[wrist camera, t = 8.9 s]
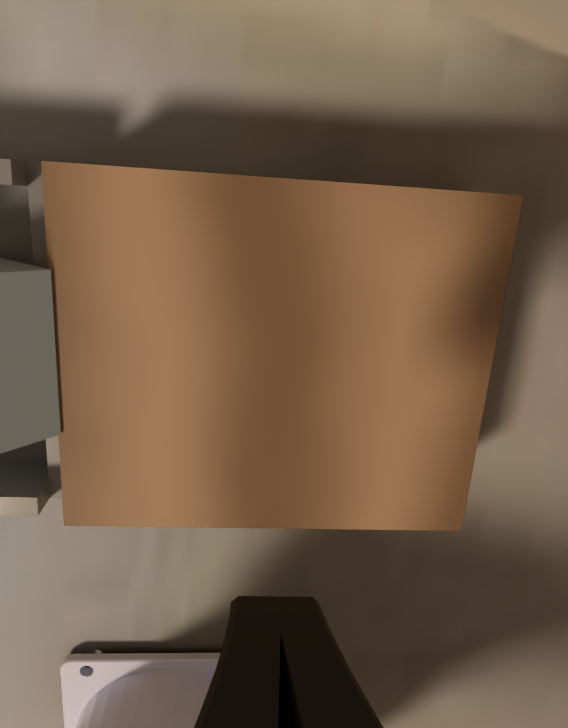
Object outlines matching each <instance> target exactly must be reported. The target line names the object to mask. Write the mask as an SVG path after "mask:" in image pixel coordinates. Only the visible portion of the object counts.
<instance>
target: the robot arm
mask: <svg viewBox="0 0 568 728" xmlns="http://www.w3.org/2000/svg"><path fill="white" fill-rule="evenodd" d="M85 666H90V667H91V668H86V667H85ZM60 672H61V686H62V700H63V713H64V727H65V728H383V726H382V725H381V723H380V721H379V719H378V718H377V716H376V714H375V713H374V711H373V709H372V707H371V706H370V704H369V702H368V700H367V699H366V697H365V695H364V694H363V692H362V690H361V688H360V687H359V685H358V683H357V681H356V679H355V678H354V676H353V674H352V672H351V670H350V668H349V666H348V664H347V662H346V661H345V659H344V657H343V655H342V653H341V651H340V649H339V647H338V645H337V643H336V641H335V639H334V637H333V635H332V632H331V630H330V628H329V626H328V624H327V622H326V619H325V617H324V615H323V612H322V610H321V608H320V605H319V603H318V602H317V601H316V600H315V599H314V598H313V597H258V596H238V597H237V598H236V599H235V600H233V601H232V602H231V610H230V617H229V622H228V627H227V632H226V636H225V640H224V643H223V647H222V650H221V653H117V654H71V655H69V656H67V657H66V658H65V659H64V660H63V663H62V666H61V670H60Z"/></svg>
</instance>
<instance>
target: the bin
mask: <svg viewBox="0 0 568 728" xmlns="http://www.w3.org/2000/svg"><path fill="white" fill-rule="evenodd" d="M0 258H3V259H8V260H12V261H16V262H21V263H25V264H29V265H33V266H38V267H42V268H46V269H48V263H47V247H46V232H45V216H44V200H43V184H42V168H41V163H33V162H23V161H17V160H11V159H0ZM49 498H62V485H61V469H60V453H59V438H58V435H57V436H54V437H51V438H48V439H45V440H42V441H38V442H35V443H32V444H29V445H26V446H23V447H20V448H16V449H13V450H10V451H7V452H4V453H1V454H0V515H39V514H40V512H41V510H42V509H43V507H44V506H45V504H46V503H47V501H48V500H49Z"/></svg>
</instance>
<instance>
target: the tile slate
mask: <svg viewBox="0 0 568 728" xmlns="http://www.w3.org/2000/svg"><path fill="white" fill-rule="evenodd" d="M57 435H61V430H60V414H59V397H58V381H57V364H56V348H55V331H54V315H53V298H52V282H51V270H50V269H46V268H42V267H38V266H33V265H29V264H25V263H21V262H16V261H12V260H8V259H3V258H0V454H1V453H4V452H7V451H10V450H13V449H16V448H20V447H23V446H26V445H29V444H32V443H35V442H38V441H42V440H45V439H48V438H51V437H54V436H57Z"/></svg>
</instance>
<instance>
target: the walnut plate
mask: <svg viewBox="0 0 568 728" xmlns="http://www.w3.org/2000/svg"><path fill="white" fill-rule="evenodd" d="M41 168H42V184H43V200H44V216H45V232H46V247H47V263H48V269H50V270H51V282H52V298H53V315H54V331H55V348H56V364H57V381H58V397H59V414H60V430H61V435H58V438H59V453H60V469H61V485H62V501H63V517H64V525H65V526H138V527H211V528H284V529H357V530H430V531H461V529H462V523H463V518H464V513H465V507H466V502H467V497H468V491H469V486H470V480H471V475H472V470H473V464H474V459H475V454H476V448H477V443H478V438H479V432H480V427H481V422H482V416H483V411H484V405H485V400H486V395H487V389H488V384H489V379H490V373H491V368H492V363H493V357H494V352H495V346H496V341H497V336H498V330H499V325H500V320H501V314H502V309H503V304H504V298H505V293H506V288H507V282H508V277H509V271H510V266H511V261H512V255H513V250H514V245H515V239H516V234H517V229H518V223H519V218H520V213H521V207H522V202H523V196H524V195H512V194H498V193H484V192H470V191H456V190H442V189H428V188H414V187H400V186H386V185H372V184H358V183H344V182H330V181H317V180H303V179H289V178H275V177H261V176H247V175H233V174H219V173H205V172H191V171H177V170H163V169H149V168H135V167H121V166H107V165H93V164H80V163H66V162H52V161H41Z"/></svg>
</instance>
